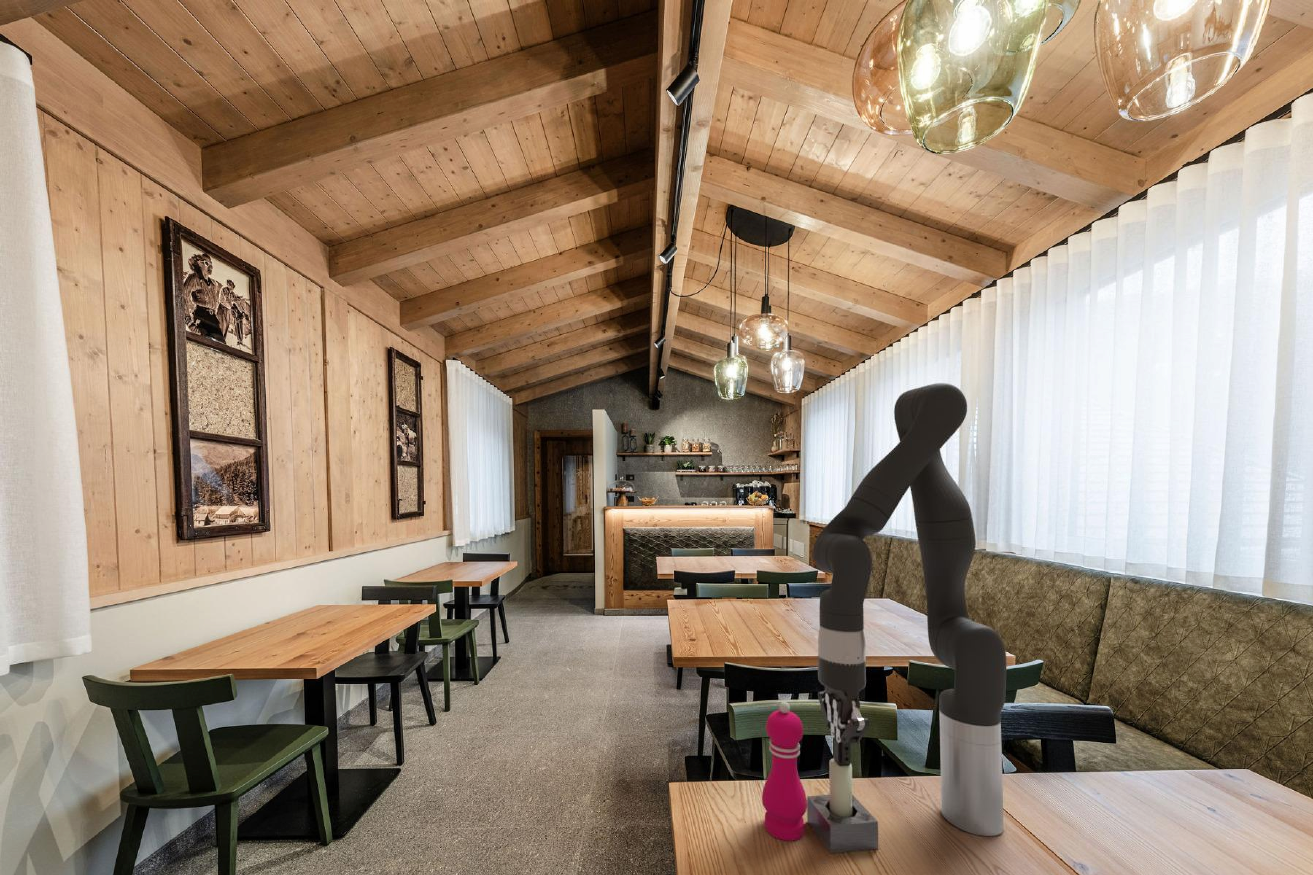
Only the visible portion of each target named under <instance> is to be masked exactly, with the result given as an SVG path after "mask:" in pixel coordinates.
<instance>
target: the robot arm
mask: <svg viewBox="0 0 1313 875" xmlns="http://www.w3.org/2000/svg"><path fill="white" fill-rule="evenodd" d="M967 413H968V402H967V398H966V396H965V394H964V393H963V391H962V390H961V389H960V388H959V387H958V386H956V385H954V384H952V383H947V382H939V383H938V382H935V383H932V384H927V385H924V386H920V387H916V388H912V389H910V390H907V391H905V392H903V393H901V394H900V395H899V396H898V397H897V399H896V402H895V404H894V409H893V414H894V416H893V417H894V418H893V419H894V423H895V428H896V431H897V435H898V439H899V440H898V441H899V442H898V443H897V444H896V446H894V448H893V449H892V450H890V451H889V452H888V453H887V454H886V455H885V456H884V457H883V458H882V459H881V460H879V462H877V463H876V465H874V467H873V468H872V469H870V470H869V471H868V472H867V474H866V475H865V476H864V477H863V478H862V480H861V482H860V483H859V485H858V486H857V487H856V489H855V491H854V492H853V494H852V496H851V497H850V499H849V500H848V502H847V503H846V505H845V507H844V508H843V509H842V510H841V511H839V512H838V513H837V514H836V515H835V516H834V517H833V518H832V519H831V520H830V521H829V523H828V524H826V525H825V527H824V528H823V529H822V530H821V531H820V533H819V534H818V535H817V537H816V539H815V541H814V543H813V546H812V551H811V552H812V560H813V562H814V564H815V565H816V567H817V568H819V569H820V570H822V571H823V572H826V573H829V574H831V575H832V578H831V582H830V588H828V589H826V590H824V591H822V592H821V594H820V596H819V626H818V627H819V628H818V636H817V677H818V678H817V679H818V681H819V683H820V684H821V685H822V686H824V690H823V691H818V692H817V698H818V701H819V704H820V708H821V713H822V716H823V720H824V723H825V726H826V729H827V730H830V735H831V738H833V758H834V761H835V762H836V763H837V764H838V765H839V766H849V765H850V764H852V763H851V762H852V761H851V760H852V759H851V754H852V753H851V750H852V749H851V748H852V746H851V745H852V744H858V743H860V741H861V740H862V738H863V737H864V735H865V733H866V732H867V730H868V728H869V726H870V721H869V719H868V717H863V716H862V714H861V712H860V708H861V701H860V696H859V695H860V694H859V693H860V692H861V691H862V690H864V689H865V687H866V684H867V678H866V677H867V676H866V675H867V674H866V672H867V670H866V667H867V666H866V665H867V661H866V659H867V658H866V656H867V655H866V637H865V630H864V627H865V626H864V624H865V621H864V619H865V618H864V613H865V612H864V603H865V599H866V596H867V593H868V588H869V583H870V579H871V575H872V571H873V558H872V554H871V553H872V552H871V549H870V547H869V545H868V544H867V542H866V541H864V539H866V538H867V537H868V536H871V535H874V534H878V533H879V532H881V531H882V530H883V529H884V528H885V526H886V525H887V523H888V522H889V520H890V518H891V517H892V515H893V513H894V512H895V510H896V509H897V508H898V505H899V504H900V502H901V501H902V499H903V497H904V496H905V494H906V493H907V491H908V489H910V494H911V495H910V496H911V500H912V505H913V506H912V507H913V512H914V513H913V515H914V522H915V528H916V534H917V535H916V537H917V542H918V544H919V552H920V559H921V565H922V572H923V580H924V586H925V594H926V595H925V596H926V615H927V616H926V620H927V623H926V624H927V638H928V643H929V647H930V650H931V652H932V655H933V656H934V657H935V659H936V660H938V661H939V662H940V663H941V664H943V665H944V666H946V668H947V667H948V668H949V669H952V670H953V671H954V684H953V688H949V689H945V690H943V691H941V692H940V694H939V698H938V701H939V702H938V704H939V705H938V706H939V708H938V709H939V740H940V741H939V746H940V749H939V751H940V755H939V756H940V798H941V799H940V802H941V803H940V804H941V805H940V806H941V808H940V809H941V815H942V816H943V818H945V819H946V821H948V822H949V823H950V824H951V825H953V826H954V827H956V828H958V829H960V830H962V831H965V832H967V833H970V834H973V835H978V836H985V837H986V836H987V837H994V836H998V835H1001V834H1002V833H1003V831H1004V828H1005V827H1004V789H1003V788H1004V786H1003V785H1004V784H1003V757H1002V754H1003V753H1002V749H1003V748H1002V728H1001V724H1002V723H1001V713H1002V710H1003V709H1004V706H1005V703H1006V695H1007V694H1006V693H1007V691H1006V690H1007V689H1006V688H1007V652H1006V647H1005V644H1004V641H1003V639H1002V637H1001V636H1000V635H999V633H998V632H997V631H996V630H995V629H993V628H991V627H989V626H987V625H984V624H982V623H979V622H976V621H973V620H971V618H970V615H969V611H968V606H967V599H966V592H965V591H966V590H965V589H966V588H965V584H966V578H967V576H968V574H969V570H970V568H971V565H972V562H973V559H974V555H975V551H976V547H977V546H976V544H977V541H976V533H975V526H974V520H973V515H972V514H973V513H972V511H971V510H972V509H971V506H970V504H969V502H968V500H967V498H966V496H965V495H964V493H963V492H962V490H961V489H960V487H959V485H958V484H957V482H956V481H955V480H954V478H953V477H952V475H951V474H950V473H949V471H948V469H947V467H946V465H945V462H944V461H943V458H942V453H941V449H942V447H944V446H945V444H946V443H947V442H948V440H950V439H951V438H952V437H953V435H954V434H955V433H956V432H957V431H958V429H959V428H960V427H961V425H963V423H964V420H965V419H966V416H967Z"/></svg>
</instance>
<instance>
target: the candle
mask: <svg viewBox="0 0 1313 875" xmlns="http://www.w3.org/2000/svg"><path fill="white" fill-rule="evenodd" d="M828 765H829V773H828V774H829V795H830V813H831V814H834V815H837V816H840V817H842V818H847V817H852V794H853V764H852V763H851V764H850V765H849V766H839V765H838V764H837V763H836V762H835V761H834V757H833V758H831V759H830V760H829V764H828Z"/></svg>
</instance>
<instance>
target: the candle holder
mask: <svg viewBox="0 0 1313 875" xmlns="http://www.w3.org/2000/svg"><path fill="white" fill-rule="evenodd" d="M806 799H807V810H806V813H807V815H806V819H807V820H806V822H807V821H808V822H807V823H808V825H809V824H810V825H809V826H810V827H811V829H812V828H813V829H814V830H813V829H812V830H813V832H814V833H815V834H816V836H817V835H818V836H819V837H818V836H817V837H818V838H819V840H820V839H821V840H820V841H821V842H822V844H823V845H824V846H825V848H826V849H827V851H828V853H830V854H839V853H849V852H859V851H868V850H869V851H871V850H878V849H879V821H878V820H877V819H876V818H875V817H874V816H873V814H871V812H870V811H869V810H867V808H866V807H865V806H864V805H863V804H862V803H861V802H860V800H858V799H857V798H856V797H855V795H854V794H853V793H852V817H847V818H842V817H840V816H837V815H834V814H831V813H830V794H822V795H809V796H808V795H806Z"/></svg>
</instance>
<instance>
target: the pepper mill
mask: <svg viewBox="0 0 1313 875" xmlns="http://www.w3.org/2000/svg"><path fill="white" fill-rule="evenodd" d="M778 706H779V707H778V710H775V711H773V712H771V713H770V714H769V716H768V717H767V719H766V724H765V730H766V733H767V735H768V737H769V738H770V739H769V742H768V744H769V747H768V749H769V752H770V753H771V757H772V758H771V760H772V762H771V767H770V772H769V774H768V777H767V779H766V781H765V783H764V786H763V789H762V794H761V802H762V805H763V808H764V810H765V813H764V827H765V830H766V831H767V833H769V835H771V836H772V837H774V838H776V839H778V840H782V841H788V842H789V841H796V840H799V839H800V838H802V837H803V836H804V833H805V820H804V817H803V816H804V815H805V814H806V813H807V795H806V791H805V788H804V787H803V784H802V781H801V779H800V776H799V774H798V773H799V772H798V765H797V764H798V762H797V761H798V757H799V756H800V754H801V751H800V750H801V749H800V748H801V745H800V743H799V742H800V741H801V740H802V739H803V735H804V726H803V722H802V720H801V719H800V717H799V716H798V715H797V714H795V713H794V712H792V711H791V706H790V704H789V703H788V702H786V701H782V702H781V703H780V704H779V705H778Z"/></svg>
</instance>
